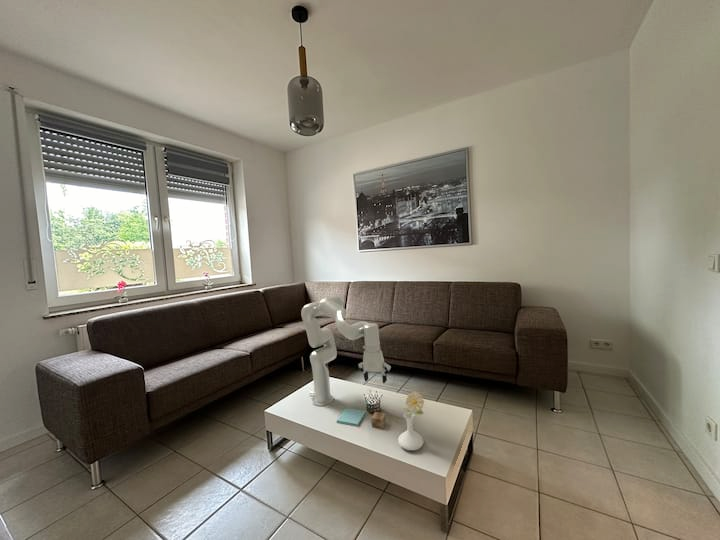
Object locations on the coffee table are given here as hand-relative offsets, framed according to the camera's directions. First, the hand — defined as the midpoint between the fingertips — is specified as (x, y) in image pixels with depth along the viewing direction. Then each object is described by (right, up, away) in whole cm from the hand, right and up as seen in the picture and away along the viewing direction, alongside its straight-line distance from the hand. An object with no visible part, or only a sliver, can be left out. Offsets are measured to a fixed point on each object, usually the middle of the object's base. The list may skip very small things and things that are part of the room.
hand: (375, 381), depth 144 cm
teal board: (-12, -23, +8) cm, 27 cm away
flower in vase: (+16, -23, -16) cm, 32 cm away
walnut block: (+2, -22, 0) cm, 23 cm away
